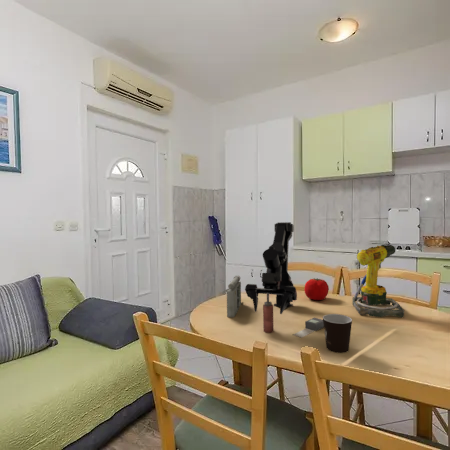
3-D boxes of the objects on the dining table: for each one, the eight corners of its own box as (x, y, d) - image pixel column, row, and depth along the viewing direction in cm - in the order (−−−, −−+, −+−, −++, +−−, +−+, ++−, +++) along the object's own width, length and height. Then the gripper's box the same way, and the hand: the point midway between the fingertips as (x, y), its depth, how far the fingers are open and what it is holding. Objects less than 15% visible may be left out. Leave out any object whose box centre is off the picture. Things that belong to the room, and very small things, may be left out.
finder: (314, 323, 119) (314, 317, 119) (324, 326, 116) (324, 319, 116) (305, 327, 115) (305, 321, 115) (316, 331, 112) (315, 324, 112)
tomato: (314, 303, 147) (313, 281, 146) (299, 297, 158) (299, 277, 157) (334, 300, 151) (334, 279, 151) (319, 294, 162) (319, 275, 161)
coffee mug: (349, 359, 92) (349, 325, 91) (319, 352, 96) (319, 320, 96) (356, 344, 102) (356, 313, 101) (329, 339, 106) (328, 310, 106)
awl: (268, 330, 116) (267, 291, 115) (275, 332, 113) (274, 292, 112) (261, 332, 113) (260, 293, 113) (269, 335, 111) (268, 294, 110)
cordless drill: (409, 318, 124) (409, 248, 123) (358, 316, 128) (357, 248, 127) (394, 304, 142) (394, 243, 141) (350, 303, 146) (349, 244, 145)
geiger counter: (236, 284, 130) (244, 272, 154) (221, 284, 131) (231, 272, 156) (236, 317, 130) (244, 300, 155) (221, 316, 132) (232, 300, 156)
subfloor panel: (291, 318, 127) (291, 316, 127) (327, 328, 116) (327, 326, 116) (267, 328, 117) (267, 326, 117) (304, 340, 106) (304, 338, 106)
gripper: (245, 263, 120) (237, 299, 110) (295, 264, 114) (291, 303, 104) (251, 279, 128) (244, 314, 118) (298, 281, 121) (295, 319, 111)
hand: (267, 312), depth 112 cm, fingers open, 9 cm apart
